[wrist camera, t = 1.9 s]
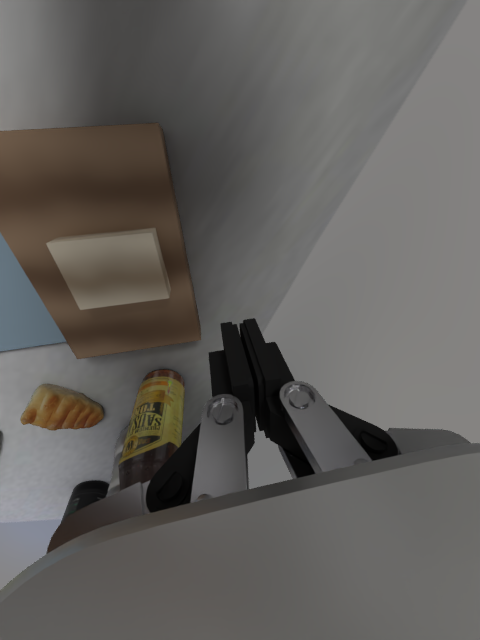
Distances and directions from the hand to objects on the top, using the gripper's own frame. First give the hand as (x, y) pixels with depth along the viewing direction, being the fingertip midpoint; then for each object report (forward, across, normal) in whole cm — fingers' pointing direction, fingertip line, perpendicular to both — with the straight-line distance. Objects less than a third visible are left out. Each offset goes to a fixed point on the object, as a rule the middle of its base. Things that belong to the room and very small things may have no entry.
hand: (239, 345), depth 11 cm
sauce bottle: (+17, +10, +18) cm, 27 cm away
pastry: (+18, +24, +19) cm, 35 cm away
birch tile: (+14, +9, -1) cm, 16 cm away
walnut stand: (+17, +10, -1) cm, 19 cm away
